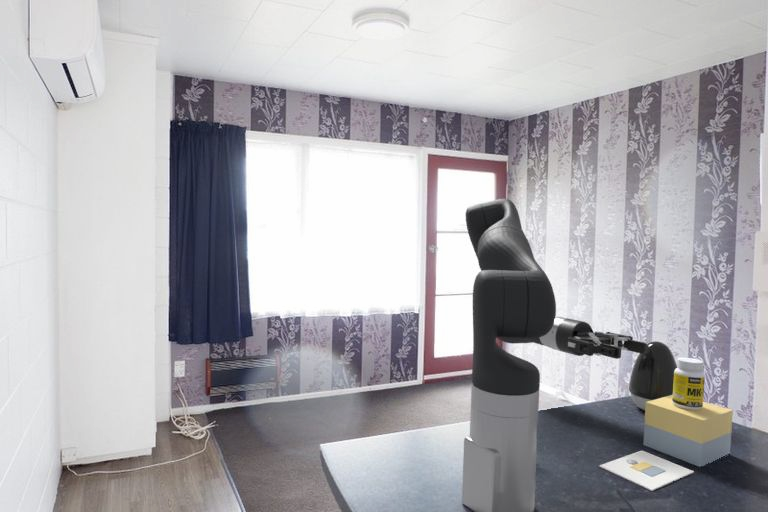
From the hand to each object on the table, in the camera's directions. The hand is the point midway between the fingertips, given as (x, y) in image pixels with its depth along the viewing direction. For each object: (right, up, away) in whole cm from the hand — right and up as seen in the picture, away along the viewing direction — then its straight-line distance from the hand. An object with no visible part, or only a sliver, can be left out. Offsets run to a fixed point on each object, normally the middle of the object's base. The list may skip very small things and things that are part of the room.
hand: (633, 351), depth 102 cm
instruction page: (-6, -16, -17) cm, 24 cm away
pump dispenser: (+10, -15, +12) cm, 22 cm away
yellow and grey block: (+5, -16, -8) cm, 19 cm away
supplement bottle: (+5, -8, -9) cm, 13 cm away
